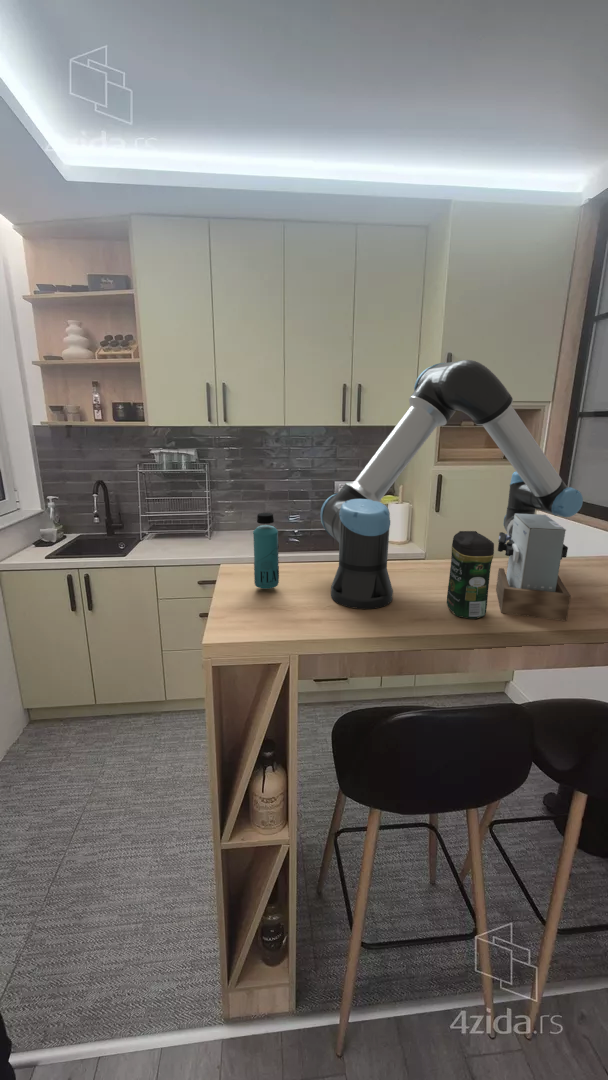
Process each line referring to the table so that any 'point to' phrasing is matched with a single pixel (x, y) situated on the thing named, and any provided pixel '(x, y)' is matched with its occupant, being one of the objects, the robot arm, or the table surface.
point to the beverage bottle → (266, 553)
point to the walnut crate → (532, 600)
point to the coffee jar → (469, 574)
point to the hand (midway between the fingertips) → (537, 558)
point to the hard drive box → (536, 552)
